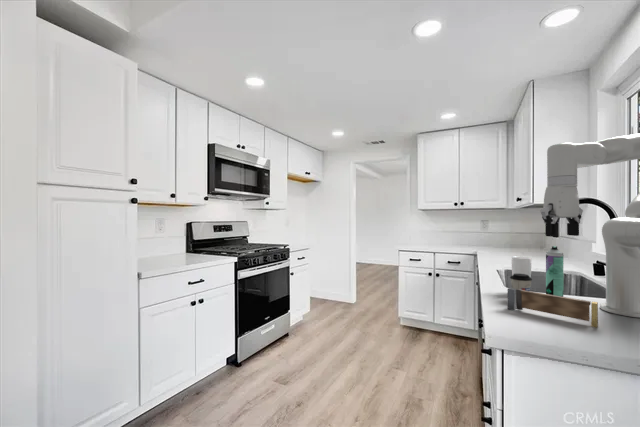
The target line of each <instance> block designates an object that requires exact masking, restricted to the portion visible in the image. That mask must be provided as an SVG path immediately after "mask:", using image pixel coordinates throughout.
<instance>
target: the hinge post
mask: <svg viewBox="0 0 640 427" xmlns="http://www.w3.org/2000/svg"><path fill="white" fill-rule="evenodd" d="M507 309H508V310H511V311H515V310H517V309H516V289H514V288H512V287H508V288H507Z"/></svg>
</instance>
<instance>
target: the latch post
mask: <svg viewBox="0 0 640 427" xmlns="http://www.w3.org/2000/svg"><path fill="white" fill-rule="evenodd" d="M590 306H591V309H590V310H591V311H590V312H591V320H590V321H591V322H590V323H591V325H590V326H591V327H592V328H596V329H598V327H599V302H597V301H591V304H590Z"/></svg>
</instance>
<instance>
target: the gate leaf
mask: <svg viewBox="0 0 640 427" xmlns="http://www.w3.org/2000/svg"><path fill="white" fill-rule="evenodd" d="M591 303H592V301H590V300H585V299H581V298H573V297H567V296H563V297H562V296H555V295H549V294H546V293H543V292H536V291H531V290H530V291H525V290H521V289H516V309H515V310H518V311H519V310H520V311H522V310H524V309H526V310H532V311H537V312H541V313H547V314H550V315H551V314H552V315H557V316H560V317H565V318H570V319H576V320H579V321H580V320H581V321H586V322H590V321H591V320H590V312H591V311H590V310H591V309H590V306H591Z"/></svg>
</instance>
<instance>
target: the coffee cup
mask: <svg viewBox="0 0 640 427" xmlns="http://www.w3.org/2000/svg"><path fill="white" fill-rule="evenodd" d="M509 278H510V284H511V288H514V289H521V290H525V291H531V286H532V281H533V279H532V277H529V275H526V274H513V275H510V277H509Z"/></svg>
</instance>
